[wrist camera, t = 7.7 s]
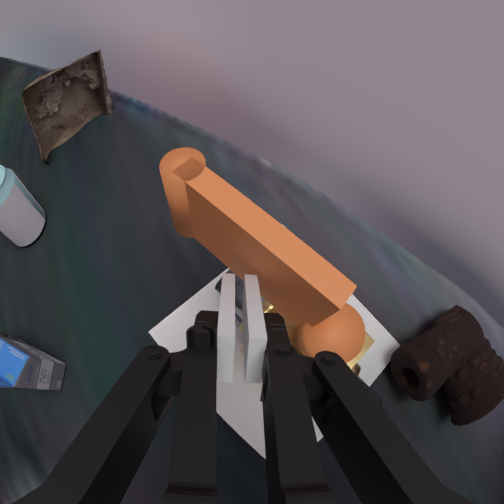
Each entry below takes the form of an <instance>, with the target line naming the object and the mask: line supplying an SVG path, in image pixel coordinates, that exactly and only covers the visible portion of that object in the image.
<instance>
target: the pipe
mask: <svg viewBox="0 0 504 504" xmlns="http://www.w3.org/2000/svg"><path fill="white" fill-rule="evenodd" d="M391 371H392V374H393V377H394V379H395V382H396V384H397V386H398V387H399V388H400V389H401V390H402V391H403V392H404V393H406V394H407V395H408V396H409V397H411V398H412V399H414V400H417V401H421V402H422V401H425V400H427V399H429V398H430V397H431V396H432V395H434V394H435V393H436V392H437V390H438V389H440V388H441V387H442V385H443V386H444V391H445V393H447V397H446V401H447V403H449V404H450V415H451V422H452V423H453V424H454V425H458V426H461V425H467V424H469V423H472V422H474V421H476V420H478V419H480V418H482V417H483V416H485V415H486V414H488V413H489V412H490V411H492V410H493V409H494V408H495V407H496V406H497V405H498V404H499V403H500V402H501V401H502V399H503V398H504V362H503V360H502V358H501V357H500V356H497V355H496V352H495V350H494V349H492V348H491V344H490V342H489V340H488V339H485V337H484V334H483V331H482V328H481V327H480V325H479V323H478V321H477V320H476V319H475V317H474V316H473V315H472V314H471V313H470V312H468V311H467V310H465V309H463V308H462V307H460V306H458V305H456V306H454V307H453V308H451V309H450V310H448V311H447V312H445V313H444V314H442V315H440V316H439V317H437V318H435V319H434V321H433V323H432V326H431V328H430V329H429V330H426V331H424V332H423V333H422V334H420V335H419V336H417V337H414V338H411V339H409V340H407V341H405V342H404V343H402V344H401V345H400V347H398V348H397V349H396V350H395V351H394V352H393V353H392V356H391Z"/></svg>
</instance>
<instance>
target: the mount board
mask: <svg viewBox="0 0 504 504" xmlns="http://www.w3.org/2000/svg"><path fill="white" fill-rule="evenodd" d="M283 226H284V225H283ZM284 227H285V226H284ZM285 228H286V227H285ZM228 270H230V269H229V268H228V269H226V270H225V271H224V272H223V273H226V272H227V271H228ZM223 273H221V274H220V275H219V276H218V277H216V278H215V279H214V280H213V281H211V282H210V283H209V284H207V285H206V286H205V287H204V288H202V289H201V290H200V291H199V292H197V293H196V294H195V295H194V296H192V297H191V298H190V299H189V300H187V301H186V302H185V303H184V304H182V305H181V306H180V307H179V308H177V309H176V310H175V311H174V312H172V313H171V314H170V315H169V316H167V317H166V318H165V319H164V320H162V321H161V322H160V323H159V324H157V325H156V326H155V327H154V328H152V329H151V330H150V331H149V333H150V335H151V336H152V337H153V338H154V340H155V341H156V342H157V344H158V345H159V346H163V347H165V348H166V349H167V350H169V353H172V352H178V351H182V350H184V349H186V348H187V342H186V331H187V329H188V328H189V327H191V326H194V323H195V318H196V315H197V314H198V313H199V312H200V311H201V310H207V311H219V303H220V295H219V294H218V292H217V291H216V290H215V286H216V284H217V282H218V281H219V280H220V279H221V277H222V275H223ZM346 303H347V304H349V305H351V306H352V307H353V308H355V309H356V310H357V312H358V313H359V314H360V316H361V317H362V319H363V322H364V325H365V331H366V332H367V333H368V334H369V335H370V336H371V337H372V339H373V340H374V341H375V342H374V343H373V344H372V345H371V347H370V348H369V349H368V350H367V351H366V353H365V354H364V355H363V356H362V357H361V359H360V360H359V361H358V362H357V363H358V364H359V365H360V366H361V371H360V373H359V375H358V376H359V377H360V378H361V379H362V380H363V381H364V382H365V383H366V384H367V385H368V386H369V387H370V385H371V384H372V383H373V382H374V381H375V379H376V378H377V377H378V376H379V374H380V373H381V372H382V371H383V369H384V368H385V367H386V366H387V364H388V363H389V362H390V360H391V356H392V353H393V352H394V351H395V350H396V349H397V348H398V347H400V344H399V343H398V342H397V341H396V340H395V339H394V338H393V337H392V336H391V335H390V334H389V332H388V331H387V330H386V329H385V328H384V327H383V326H382V325H381V324H380V323H379V322H378V321H377V320H376V319H375V318H374V316H373V315H372V314H371V313H370V312H369V311H368V310H367V309H366V308H365V307H364V306H363V305H362V304H361V303H360V302H359V301H358V300H357V299H356V298H355V297H354V295H353V294H351V296H350V297H349V298H348V300H347V301H346ZM242 345H243V332H242V331H241V330H240V329H239V328H237V327H236V326H235V346H234V363H233V381H232V383H230V382H217V392H216V412H217V413H218V414H219V415H220V416H221V417H222V418H223V419H224V420H225V421H226V422H227V423H228V424H229V425H230V426H231V427H232V428H233V429H234V430H235V431H236V432H237V433H238V434H239V435H240V436H241V437H242V438H243V439H244V440H245V441H246V442H247V443H248V444H249V445H251V446H252V447H253V448H254V449H255V450H256V451H257V452H258V453H259V454H260V455H261V456H263V457H264V458H265V459H266V455H265V438H264V422H263V406H262V401H260V398H261V391H262V385H263V381H261V383H245V373H244V354H243V353H242V352H241V351H240V348H241V347H242ZM312 420H313V424H314V429H315V433H316V438H317V442H318V441H319V440H320V439H321V438H322V437H323V435H322V433H321V432H320V430H319V428H318V426H317V424H316V423H315V421H314V419H313V417H312Z"/></svg>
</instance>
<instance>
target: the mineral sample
mask: <svg viewBox="0 0 504 504" xmlns="http://www.w3.org/2000/svg"><path fill="white" fill-rule="evenodd" d="M103 66H104V64H103V59H102V56H101V52H100V50H99V51H96V52H94V53H92V54H90V55H87V56H85V57H83V58H80V59H78V60H76V61H74V62H73V63H71V64H70V65H68V66H65V67H63V68H59V69H55V70H53V71H52V72H50V73H48V74H46V75H44V76H42V77H40V78H37V79H36V80H34V81H33V82H32V83H30V84H29V85H28V86H27V87H26V88H25V90H24V91H23V94H22V100H23V103H24V108H25V112H26V115H27V117H28V119H29V122H30V123H31V125H32V129H33V133H34V135H35V137H36V139H37V142H38V144H39V150H40V155H41V159H43V160H45V161H47V157H48V154H49V152H50V151H51V150H52V149H53V148H57V147H58V146H59V145H61V144H62V143H64V142H65V141H67V140H68V139H69V138H70V137H72V136H73V135H75V134H76V133H77V132H78V131H79V130H80V129H81V128H82V127H83V126H84V125H85V124H86V123H88V122H89V121H90V120H92V119H93V118H94V117H96V116H98V115H99V114H102V113H103V114H106V115H109V114H111V113H113V111H112V109H113V107H112V103H111V102H112V100H111V101H110V99H109V98H110V97H109V96H110V94H109V91H108V87H107V78H106V74H105V70H104V67H103ZM47 162H48V161H47ZM48 163H49V162H48Z"/></svg>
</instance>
